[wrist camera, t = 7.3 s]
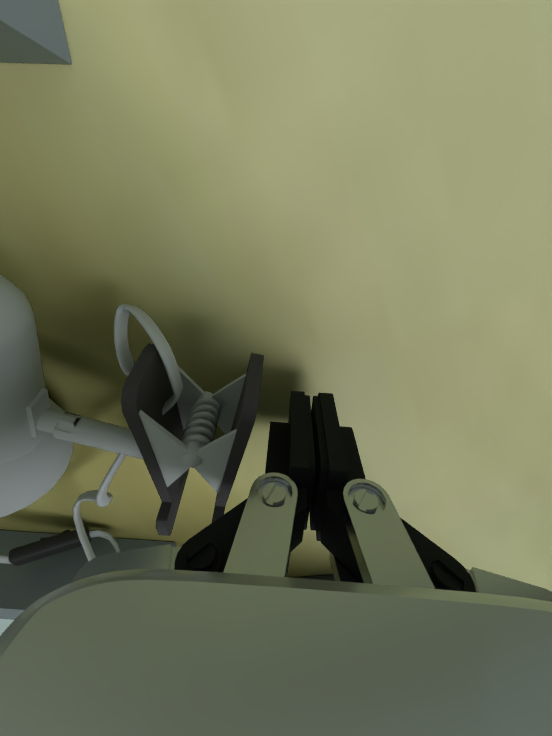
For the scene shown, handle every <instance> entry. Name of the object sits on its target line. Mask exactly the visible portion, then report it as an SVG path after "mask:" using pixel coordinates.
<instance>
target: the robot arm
mask: <svg viewBox="0 0 552 736" xmlns="http://www.w3.org/2000/svg"><path fill="white" fill-rule="evenodd" d="M309 512H310V528H311V530H316V537H317V541H321V543H322V544H323V545H324V546H325V547H326V548H327V549H328V550H329V557H330V563H331V567H332V571H333V575H334V579H335V581H329V580H317V579H304V578H290V577H287V573H288V566H289V560H290V553H291V551H292V550H293V549H294V548H295V547H297V546H298V545H299V544H300V543H301V542H302V538H303V531H304V530H306V528H307V522H308V516H309ZM0 736H552V592H551V591H549V590H547V589H545V588H541V587H538V586H534V585H531V584H528V583H524V582H521V581H518V580H514V579H511V578H508V577H504V576H501V575H498V574H494V573H491V572H488V571H484V570H481V569H478V568H474V567H472V569H471V570H468V569H465V568H464V566H462V565H461V564H460V563H459V562H458V561H457V560H456V559H455V558H453V557H452V556H451V555H449V554H448V553H447V552H445V551H444V550H443V549H441V548H440V547H439V546H437V545H436V544H435V543H433V542H432V541H431V540H429V539H428V538H427V537H425V536H424V535H423V534H421V533H420V532H419V531H417V530H416V529H415V528H413V527H412V526H411V525H409V524H408V523H407V522H405V521H404V520H403V519H401V518H400V517H399V515H398V513H397V511H396V509H395V507H394V505H393V503H392V501H391V499H390V497H389V495H388V494H387V492H386V491H385V490H384V489H383V488H382V487H381V486H380V485H378V484H377V483H375V482H373V481H370V480H367V479H365V475H364V471H363V467H362V464H361V460H360V456H359V452H358V448H357V445H356V441H355V437H354V433H353V430H352V428H351V427H340V426H339V421H338V416H337V412H336V407H335V402H334V397H333V394H330V393H319V394H318V396H313V401H312V409H311V406H310V396H306V395H305V392H300V391H291V397H290V408H289V420H288V423H281V422H270V431H269V441H268V451H267V461H266V471H265V474H264V475H262V476H259V477H258V478H257V479H256V480H255V481H254V483H253V485H252V487H251V490H250V493H249V496H248V498H247V499H246V500H244V501H243V502H242V503H240V504H239V505H237V506H236V507H234V508H233V509H232V510H230V511H229V512H227V513H226V514H224V515H223V516H222V517H220V518H219V519H217V520H216V521H214V522H213V523H212V524H210V525H209V526H207V527H206V528H204V529H203V530H202V531H200V532H199V533H197V534H196V535H194V536H193V537H192V538H190V539H189V540H188V541H187V542H186V543H184V544H183V545H182V546H177V547H172V546H171V544H167V545H161V546H155V547H148V548H142V549H136V550H129V551H123V552H117V553H110V554H104V555H101V556H98V557H95V558H93V559H92V560H90V561H89V562H87V563H86V564H85V565H84V566H83V567H82V568H81V569H80V570H79V571H78V572H77V574H76V576H75V578H74V579H73V581H72V583H70V584H67V585H65V586H63V587H61V588H58V589H56V590H54V591H52V592H50V593H48V594H47V595H45V596H43V597H41V598H40V599H38V600H37V601H35V602H34V603H33V604H31V605H30V606H29V607H28V608H27V609H25V610H24V611H23V612H22V613H21V614H20V615H19V616H18V617H17V618H16V619H15V620H14V621H13V622H12V623H11V625H10V626H9V627H8V628H7V629H6V630H5V631H4V632H3V633H2V635H1V636H0Z"/></svg>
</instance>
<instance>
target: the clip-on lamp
mask: <svg viewBox="0 0 552 736" xmlns="http://www.w3.org/2000/svg"><path fill="white" fill-rule="evenodd" d="M130 313H131V314H132V315H133V316H134V317H135V318H136V319H137V320H138V322H139V323H140V324H141V325H142V327H143V328H144V329H145V331H146V332H147V334H148V335H149V337H150V338H151V340H152V342H153V343H154V344H148V345H147V346H146V347H145V348H144V350H143V351H142V353H141V355H140V356H139V358H138V360H137V361H136V363H135V362H134V360H133V358H132V355H131V352H130V348H129V342H128V319H129V316H130ZM114 343H115V350H116V356H117V359H118V362H119V365H120V367H121V369H122V370H123V372H124V373H125V375H126V376H127V379H126V381H125V384H124V386H123V390H122V397H121V405H122V412H123V414H124V416H125V418H126V421H127V423H128V425H129V428H130V429H129V428H125V427H121V426H118V425H114V424H110V423H106V422H102V421H99V420H95V419H91V418H87V417H83V416H80V415H76V414H72V413H68V412H64V411H63V410H62V409H61V408H60V407H59V406H58V405H57V404H55V403H54V402H53V401H52V400H51V399H49V396H48V389H46V388H45V381H44V375H43V368H42V362H41V355H40V349H39V342H38V336H37V330H36V323H35V317H34V312H33V310H32V308H31V306H30V304H29V302H28V300H27V298H26V296H25V294H24V293H23V292H22V291H21V290H20V289H19V288H17V287H16V286H15V285H14V284H13V283H11V282H10V281H9V280H8V279H6V278H5V277H4V276H2V275H0V517H4V516H7V515H9V514H12V513H14V512H16V511H18V510H20V509H23V508H25V507H27V506H29V505H31V504H32V503H33V502H35V501H36V500H37V499H39V498H40V497H42V496H43V495H44V494H46V493H47V492H48V491H50V490H51V489H52V487H53V486H54V485H55V484H56V483H57V481H58V480H59V479H60V478H61V477H62V475H63V474H64V473H65V471H66V468H67V466H68V464H69V461H70V459H71V456H72V454H73V442H74V443H78V444H82V445H87V446H91V447H95V448H99V449H103V450H107V451H111V452H115V453H119V454H118V456H117V458H116V459H115V461H114V462H113V464H112V466H111V467H110V469H109V471H108V473H107V474H106V476H105V478H104V480H103V481H102V483H101V485H100V488H99V490H93V491H87V492H85V493H83V494H81V495H80V496H79V497H78V499H77V501H76V502H75V504H74V506H73V519H74V523H75V526H76V530H73V531H69V530H66V531H64V532H62V533H60V534H58V535H55V536H51V537H47V538H40V541H37V542H33V543H30V544H27V545H23V546H20V547H16V548H13V549H11V550H10V551H9V556H8V555H0V563H7V564H13V565H15V566H20V565H23V564H26V563H29V562H32V561H35V560H38V559H42V558H45V557H48V556H51V555H54V554H57V553H60V552H64V551H67V550H70V549H73V548H76V547H79V546H82V547H83V549H84V552H85V554H86V557H87V559H88V561H90V560H92V559H93V558H95V557H96V556H95V554H94V552H93V550H92V547H91V545H90V542H91V540H92V537H98V536H100V537H102V538H105V539H108V540H109V541H110V542H111V544H112V545H113V547H114V549H115V550H116V553H117V552H120V549H119V546H118V544H117V542H116V541H115V539H114V538H113V536H112V535H111V534H110V533H108V532H105V531H102V530H93V531H90V530H89V529H88V528H87V527H84V526H83V522H82V519H81V515H80V503H81V502H82V501H96V503H97V504H98V506H100V507H105V506H107V505H108V504H109V503H110V501H111V500H112V497H113V496H112V494H111V493H109V492H107V488H108V486H109V484H110V482H111V480H112V478H113V476H114V474H115V473H116V471H117V469H118V468H119V466H120V464H121V463H122V461H123V459H124V458H125V456H126V455H128V456H132V457H136V458H140V459H144V462H145V464H146V466H147V469H148V471H149V473H150V475H151V478H152V480H153V482H154V484H155V487H156V489H157V491H158V494H159V496H160V498H161V500H162V504H161V507H160V510H159V513H158V516H157V520H156V529H157V532H158V534H159V535H167V536H170V534H171V532H172V529H173V525H174V522H175V518H176V515H177V511H178V507H179V504H180V500H181V497H182V493H183V490H184V486H185V482H186V479H187V475H188V472H189V468H190V467H192V468H195V469H196V470H197V471H198V472H199V473H200V475H201V476H202V477H203V478H204V479H205V480H206V481H207V482H208V483H209V484H210V485H211V487H212V488H213V489H214V490H215V491H216V492H217V497H216V502H215V508H214V514H213V519H212V523H213V522H214V521H216V520H217V519H219V518H220V517H222V516H223V515H224V510H225V505H226V503H227V500H228V497H229V494H230V491H231V488H232V486H233V483H234V480H235V477H236V474H237V471H238V468H239V466H240V463H241V460H242V457H243V454H244V451H245V448H246V446H247V443H248V440H249V437H250V434H251V431H252V428H253V426H254V422H255V417H256V413H257V407H258V402H259V395H260V387H261V378H262V369H263V360H264V355H260V354H254V353H251V357H250V361H249V365H248V368H247V372H246V373H245V374H244V375H242V376H241V377H239V378H237V379H236V380H234V381H233V382H231V383H229V384H228V385H226V386H225V387H223V388H222V389H220V390H218V391H217V392H215V393H214V394H212V393H210V392H204V391H203V390H202V389H201V388H200V387H199V386H198V385H197V384H196V383H195V382H194V381H193V380H192V379H191V378H190V377H189V376H188V375H187V374H186V373H185V372H184V371H183V370H182V369H181V368H180V367H179V366H178V365H177V362H176V359H175V356H174V354H173V352H172V350H171V347H170V345H169V344H168V342H167V340H166V338H165V337H164V335H163V334H162V332H161V331H160V329H159V328H158V326H157V325H156V324H155V323H154V321H153V320H152V319H151V318H150V317H149V316H148V315H147V314H146V313H145V312H144V311H143V310H141V309H140V308H138V307H136V306H133V305H128V304H123V305H119V307H118V308H117V309H116V314H115V319H114ZM217 424H218V426H219V427H220V429H221V430H222V431H223V433H224V434H225V435H224V436H222V437H220V438H218V439H216V440H214V435H215V432H216V429H215V428H216V427H217ZM213 440H214V441H213Z"/></svg>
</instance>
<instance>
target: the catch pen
mask: <svg viewBox="0 0 552 736" xmlns="http://www.w3.org/2000/svg"><path fill="white" fill-rule="evenodd" d="M0 62H6V63H40V64H72V63H71V58H70V53H69V49H68V44H67V39H66V35H65V30H64V25H63V21H62V16H61V11H60V7H59V2H58V0H0ZM55 535H58V534H49V533H34V532H20V531H6V530H0V555H8V556H9V551H10V550H11V549H13V548H16V547H20V546H23V545H27V544H30V543H33V542H37V541H40V538H47V537H51V536H55ZM114 539H115V541H116V542H117V544H118V546H119V549H120V552H123V551H129V550H136V549H142V548H148V547H155V546H161V545H167V544H171V546H172V547H176V546H175V542H165V541H150V540H136V539H121V538H114ZM90 545H91V547H92V550H93V552H94V554H95V556H96V557H98V556H101V555H104V554H110V553H116V550H115V549H114V547H113V545H112V544H111V542H110V541H109V540H108V539H105V538H102V537H92V540H91V542H90ZM87 562H89V561H88V559H87V557H86V554H85V552H84V549H83V547H82V546H79V547H76V548H73V549H70V550H67V551H64V552H60V553H57V554H54V555H51V556H48V557H45V558H42V559H38V560H35V561H32V562H29V563H26V564H23V565H20V566H15V565H13V564H7V563H0V618H1V619H14V620H15V619H16V618H17V617H18V616H19V615H20V614H21V613H22V612H23V611H24V610H25V609H27V608H28V607H29V606H30V605H31V604H33V603H34V602H35V601H37V600H38V599H40V598H41V597H43V596H45V595H47V594H48V593H50V592H52V591H54V590H56V589H58V588H61V587H63V586H65V585H67V584H70V583H72V581H73V579H74V578H75V576H76V574H77V572H78V571H79V570H80V569H81V568H82V567H83V566H84V565H85V564H86V563H87Z"/></svg>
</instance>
